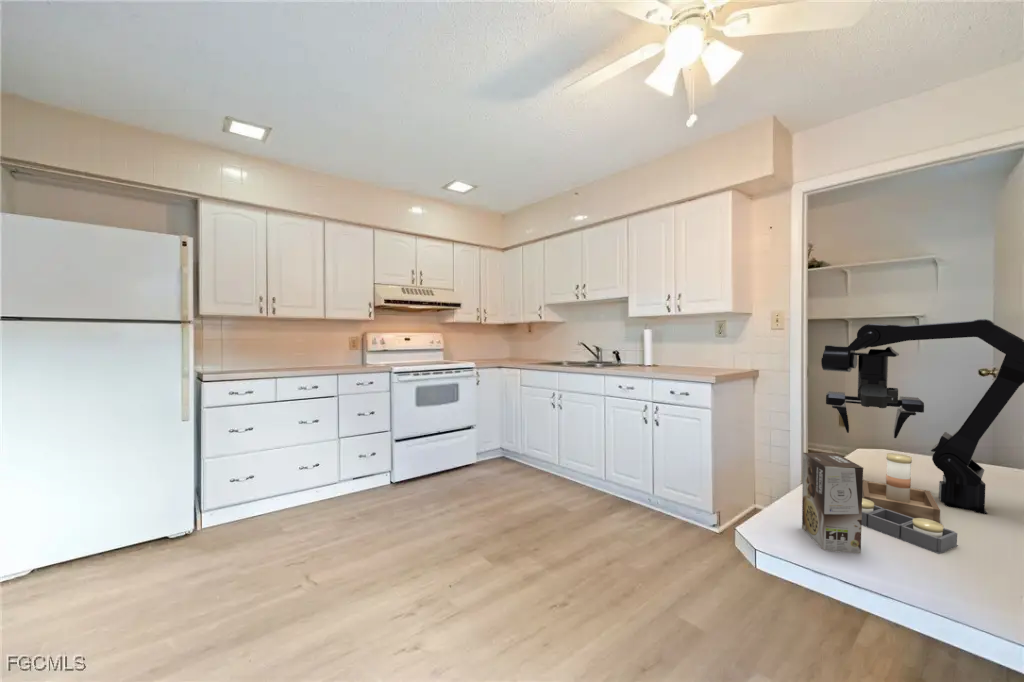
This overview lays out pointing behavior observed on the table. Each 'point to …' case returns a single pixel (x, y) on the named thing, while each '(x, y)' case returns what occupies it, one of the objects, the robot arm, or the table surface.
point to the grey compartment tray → (907, 530)
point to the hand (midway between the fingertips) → (870, 435)
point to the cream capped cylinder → (898, 477)
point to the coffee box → (832, 501)
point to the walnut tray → (917, 508)
